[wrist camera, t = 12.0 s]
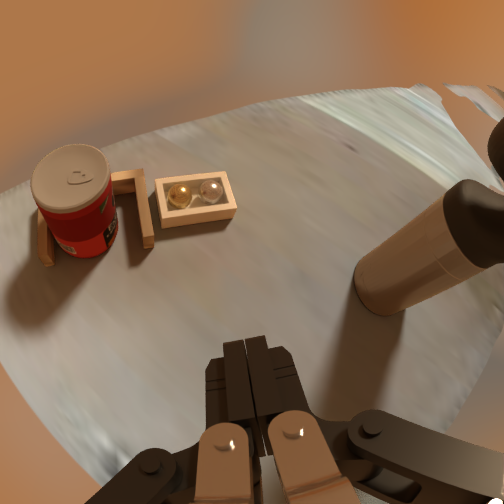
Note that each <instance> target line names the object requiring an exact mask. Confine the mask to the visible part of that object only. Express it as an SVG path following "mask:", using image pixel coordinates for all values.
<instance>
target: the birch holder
mask: <svg viewBox="0 0 504 504" xmlns="http://www.w3.org/2000/svg"><path fill="white" fill-rule="evenodd" d="M110 174H111V180H112V187H113V194H114V195H119V194H125V193H132V192H135V194H136V201H137V208H138V215H139V221H140V227H141V234H142V239H143V245H144V249H147V248H152V247H154V231H153V226H152V220H151V215H150V209H149V203H148V197H147V191H146V184H145V178H144V171H143V169H136V170H129V171H122V172H116V173H110ZM38 257H39V259H40V260H41V261H42V262H43V264H44V265H45V266H46V267H47V266H52V265H55V258H54V235H53V234H52V232H51V230H50V228H49V227H48V225H47V223H46V221H45V219H44V217H43V216H42V214H41V212H40V210H39V208H38Z"/></svg>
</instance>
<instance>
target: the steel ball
mask: <svg viewBox="0 0 504 504" xmlns="http://www.w3.org/2000/svg"><path fill="white" fill-rule="evenodd" d="M222 195H223V190H222V187H221V186H220V184H219V183H217V182H216V181H212V180H209V181H206V182H204V183H202V184H201V186H200V187H199V190H198V196H199V199H200V200H201V201H202V202H203V203H204V204H207V205H214V204H216V203H218V202H219V201H220V200H221V198H222Z"/></svg>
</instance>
